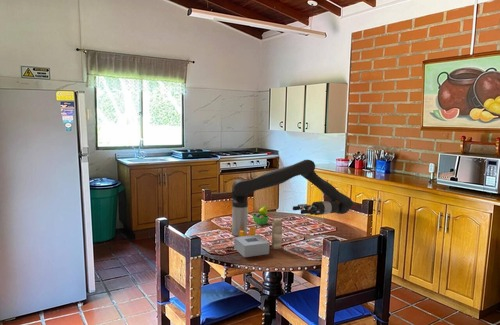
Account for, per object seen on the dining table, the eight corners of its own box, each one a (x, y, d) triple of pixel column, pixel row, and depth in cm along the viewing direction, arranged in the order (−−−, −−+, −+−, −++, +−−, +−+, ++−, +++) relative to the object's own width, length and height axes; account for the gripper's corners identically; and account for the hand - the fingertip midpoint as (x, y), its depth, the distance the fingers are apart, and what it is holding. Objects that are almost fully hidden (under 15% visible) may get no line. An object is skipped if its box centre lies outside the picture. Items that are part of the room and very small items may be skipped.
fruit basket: (251, 221, 246) (251, 205, 245) (262, 220, 250) (263, 204, 248) (258, 225, 236) (259, 208, 234) (270, 224, 239) (271, 207, 238)
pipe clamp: (244, 243, 200) (245, 232, 200) (238, 242, 203) (239, 231, 202) (257, 238, 210) (257, 227, 209) (251, 237, 212) (252, 226, 212)
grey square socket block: (234, 248, 192) (234, 237, 192) (257, 245, 198) (258, 234, 197) (244, 257, 180) (244, 245, 179) (269, 253, 185) (269, 242, 185)
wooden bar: (271, 247, 195) (272, 218, 193) (278, 246, 197) (279, 217, 195) (274, 249, 193) (275, 220, 191) (281, 248, 194) (282, 219, 193)
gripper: (314, 198, 210) (290, 200, 203) (329, 204, 197) (304, 206, 190) (314, 211, 211) (290, 213, 204) (328, 217, 198) (303, 220, 191)
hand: (296, 210), depth 197 cm, fingers open, 8 cm apart
